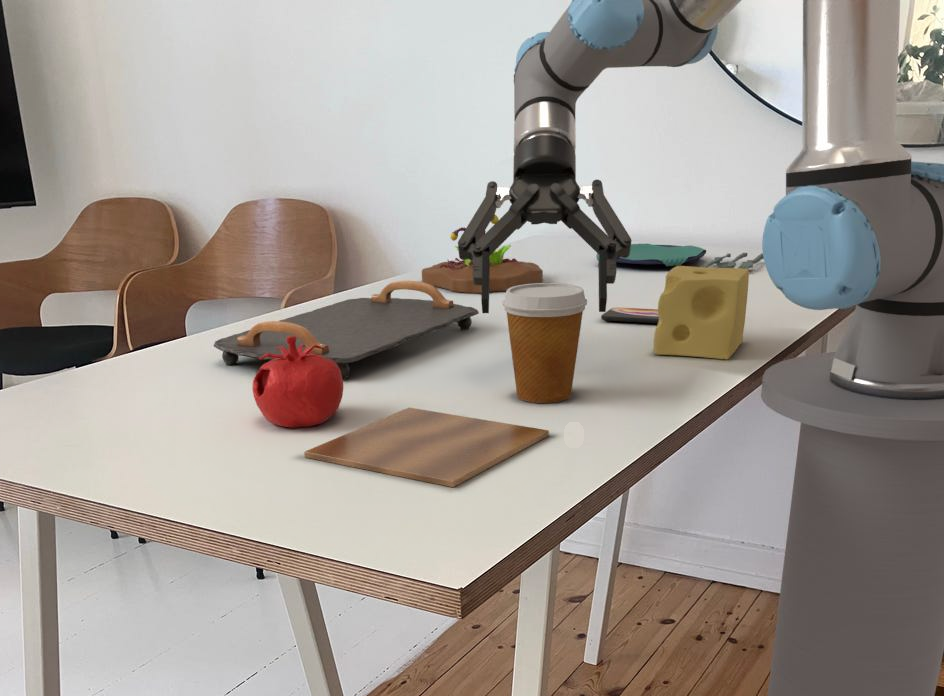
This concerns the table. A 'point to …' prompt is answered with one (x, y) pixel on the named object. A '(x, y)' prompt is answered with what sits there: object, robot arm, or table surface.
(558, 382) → the disposable coffee cup
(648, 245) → the cutlery set
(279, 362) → the pomegranate
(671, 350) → the cheese
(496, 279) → the plant
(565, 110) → the robot arm
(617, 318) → the smartphone
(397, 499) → the table surface
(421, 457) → the wooden board
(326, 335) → the serving tray
